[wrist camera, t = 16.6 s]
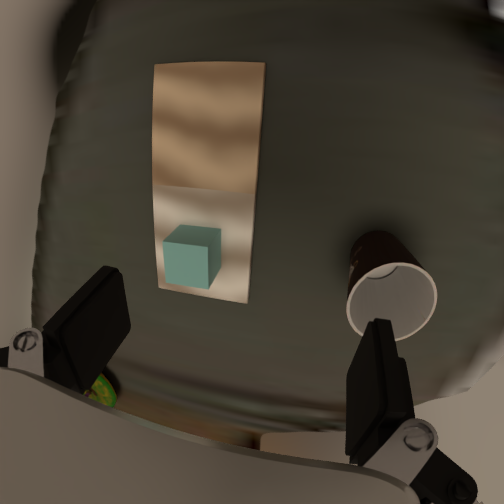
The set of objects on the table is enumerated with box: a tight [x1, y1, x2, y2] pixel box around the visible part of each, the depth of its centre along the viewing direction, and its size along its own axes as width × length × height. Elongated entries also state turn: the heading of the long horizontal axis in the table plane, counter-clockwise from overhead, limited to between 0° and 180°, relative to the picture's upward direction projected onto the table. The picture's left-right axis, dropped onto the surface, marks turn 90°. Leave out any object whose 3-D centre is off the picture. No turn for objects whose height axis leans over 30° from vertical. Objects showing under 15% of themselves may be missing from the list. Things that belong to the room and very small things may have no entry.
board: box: [152, 62, 266, 304], centre depth 35 cm, size 28×12×1 cm, turn 176°
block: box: [162, 224, 221, 290], centre depth 36 cm, size 5×5×5 cm
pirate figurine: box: [83, 373, 117, 408], centre depth 50 cm, size 14×13×15 cm
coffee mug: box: [346, 231, 437, 341], centre depth 32 cm, size 12×9×10 cm
